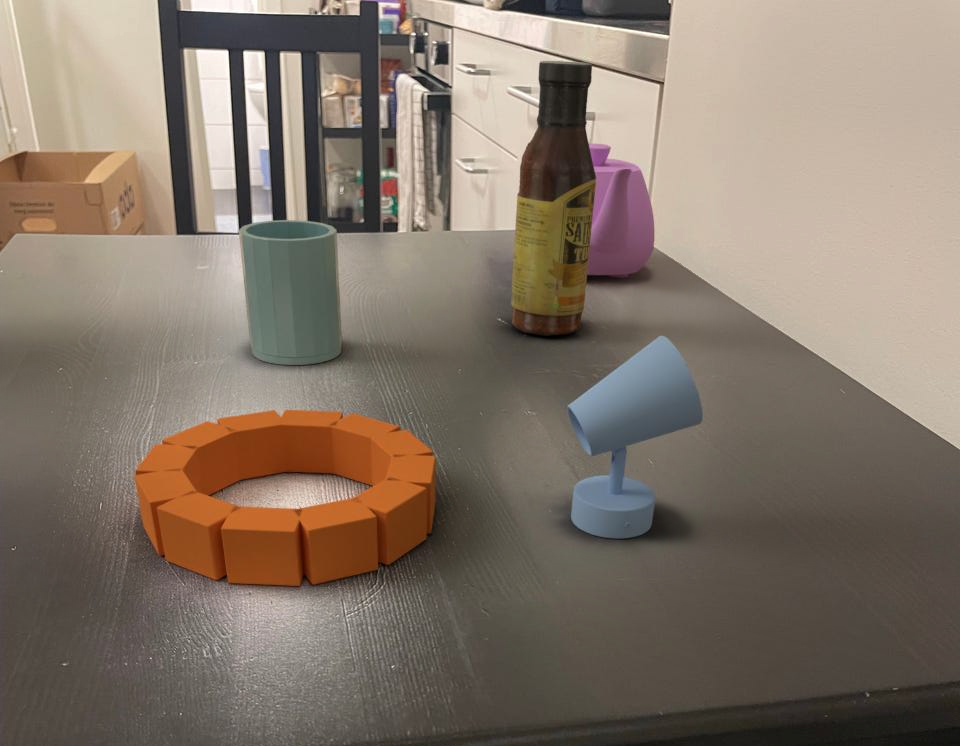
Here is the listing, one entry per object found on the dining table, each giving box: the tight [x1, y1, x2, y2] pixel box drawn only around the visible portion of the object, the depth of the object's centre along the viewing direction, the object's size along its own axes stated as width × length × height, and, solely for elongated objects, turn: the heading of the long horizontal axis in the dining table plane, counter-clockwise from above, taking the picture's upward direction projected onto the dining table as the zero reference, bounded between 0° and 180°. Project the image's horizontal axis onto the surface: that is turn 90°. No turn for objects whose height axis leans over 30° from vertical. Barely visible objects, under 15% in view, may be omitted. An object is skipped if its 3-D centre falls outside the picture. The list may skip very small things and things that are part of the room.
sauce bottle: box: [510, 60, 596, 337], centre depth 78 cm, size 7×6×20 cm
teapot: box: [587, 143, 655, 279], centre depth 98 cm, size 20×13×12 cm, turn 10°
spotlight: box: [566, 335, 704, 539], centre depth 51 cm, size 5×10×7 cm
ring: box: [134, 409, 437, 587], centre depth 52 cm, size 15×15×3 cm
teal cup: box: [238, 219, 343, 366], centre depth 74 cm, size 7×7×9 cm
